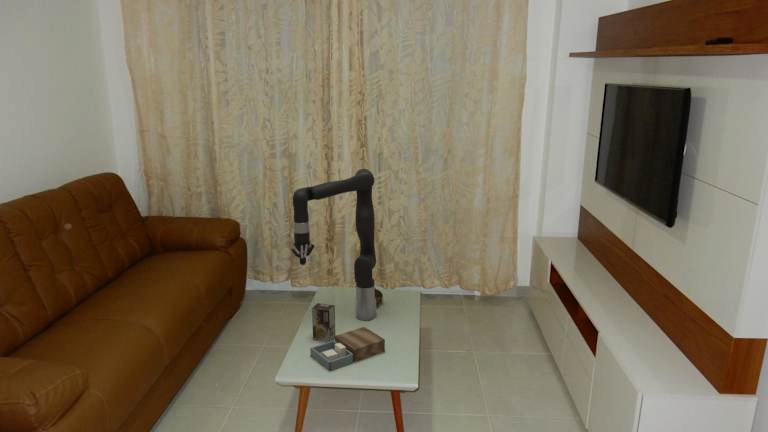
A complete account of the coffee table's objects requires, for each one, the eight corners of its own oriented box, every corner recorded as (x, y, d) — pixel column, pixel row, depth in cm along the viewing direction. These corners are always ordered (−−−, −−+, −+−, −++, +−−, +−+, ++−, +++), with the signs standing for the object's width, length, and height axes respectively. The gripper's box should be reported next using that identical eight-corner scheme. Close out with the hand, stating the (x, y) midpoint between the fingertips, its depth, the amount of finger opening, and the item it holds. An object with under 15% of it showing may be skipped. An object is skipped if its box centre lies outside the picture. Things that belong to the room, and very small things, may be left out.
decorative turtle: (377, 296, 312) (378, 283, 310) (386, 309, 299) (387, 295, 296) (360, 298, 309) (361, 284, 307) (368, 310, 296) (369, 296, 293)
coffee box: (336, 337, 265) (335, 305, 261) (330, 343, 259) (329, 310, 255) (318, 334, 268) (317, 302, 264) (312, 340, 262) (311, 307, 258)
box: (334, 348, 254) (333, 340, 253) (353, 362, 241) (353, 354, 240) (310, 356, 247) (310, 347, 246) (329, 371, 234) (329, 362, 233)
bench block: (364, 338, 263) (364, 326, 262) (384, 351, 251) (384, 339, 249) (334, 348, 254) (334, 335, 252) (354, 362, 242) (354, 349, 240)
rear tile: (339, 342, 247) (334, 344, 245) (345, 346, 243) (341, 348, 241) (339, 353, 248) (334, 354, 246) (346, 357, 244) (341, 359, 243)
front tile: (321, 352, 244) (322, 357, 244) (327, 356, 240) (327, 362, 240) (332, 349, 246) (332, 354, 247) (337, 353, 242) (337, 358, 243)
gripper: (309, 226, 279) (310, 260, 283) (285, 231, 271) (287, 265, 275) (317, 230, 273) (318, 264, 277) (293, 234, 265) (294, 269, 270)
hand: (302, 264), depth 276 cm, fingers closed
